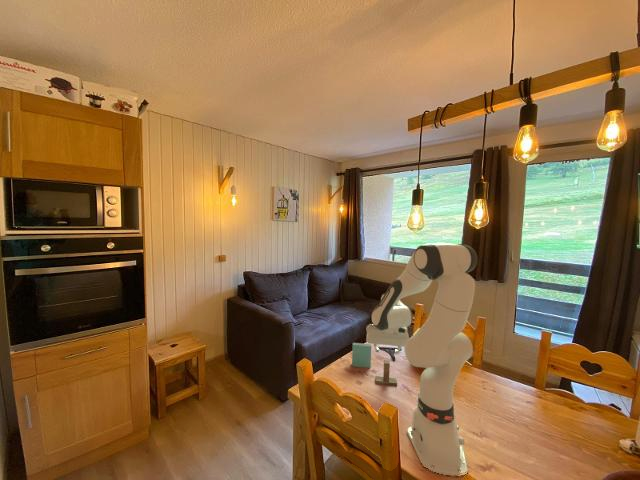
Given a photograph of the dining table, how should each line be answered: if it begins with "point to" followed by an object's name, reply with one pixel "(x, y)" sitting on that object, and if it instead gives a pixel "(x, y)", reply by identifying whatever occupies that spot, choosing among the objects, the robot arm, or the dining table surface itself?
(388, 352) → the bracket
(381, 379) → the inverted t stand
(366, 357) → the tile
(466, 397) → the dining table surface
